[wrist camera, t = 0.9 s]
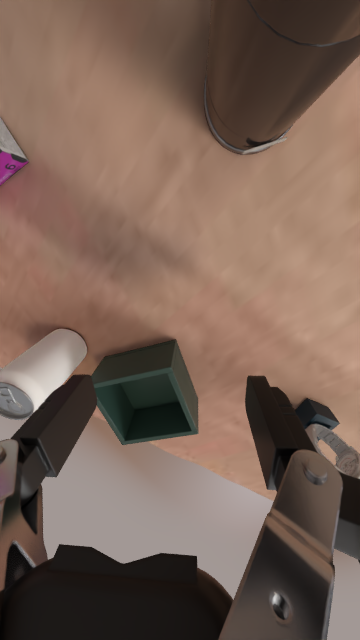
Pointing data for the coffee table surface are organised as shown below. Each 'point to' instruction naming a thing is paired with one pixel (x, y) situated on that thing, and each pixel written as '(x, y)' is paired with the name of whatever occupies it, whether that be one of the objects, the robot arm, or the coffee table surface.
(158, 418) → the bin
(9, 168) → the candy bar box
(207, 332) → the coffee table surface
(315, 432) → the watch
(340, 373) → the coffee table surface
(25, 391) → the can
